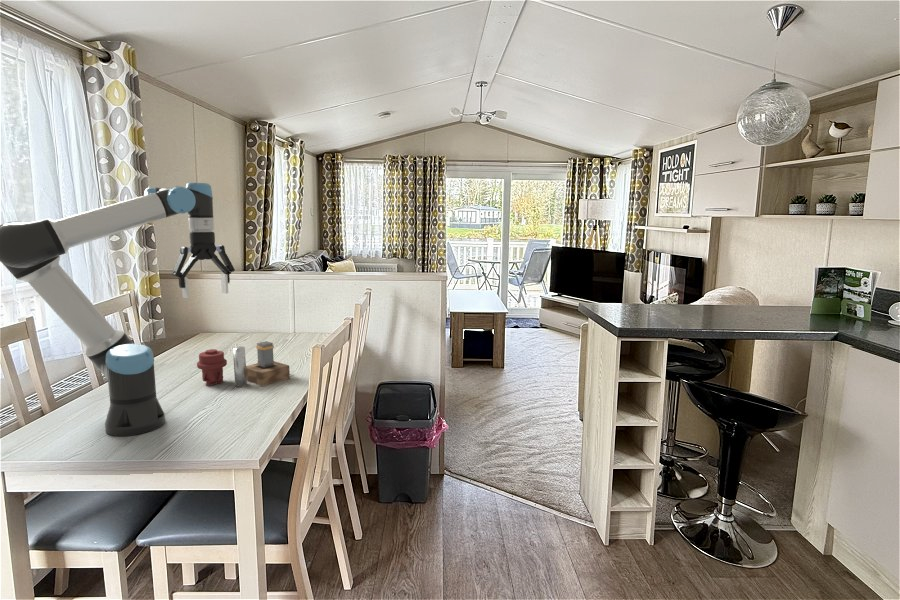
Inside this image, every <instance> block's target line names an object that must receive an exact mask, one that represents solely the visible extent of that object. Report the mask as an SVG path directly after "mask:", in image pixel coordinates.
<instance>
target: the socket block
mask: <svg viewBox="0 0 900 600" xmlns="http://www.w3.org/2000/svg"><path fill="white" fill-rule="evenodd" d="M290 375H291V373H290V365H289V364H285V363H282V362H279V361H275V360H274V367H271V368H267V369H261V368H258V362H257V363H253V364H249V365H246V377H247V383H248V382H249V383H252V384H254V385H257V386H261V387H264V386H267V385H271V384H275V383H277V382H282V381H285V380H288V379H290V378H291V376H290Z"/></svg>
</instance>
